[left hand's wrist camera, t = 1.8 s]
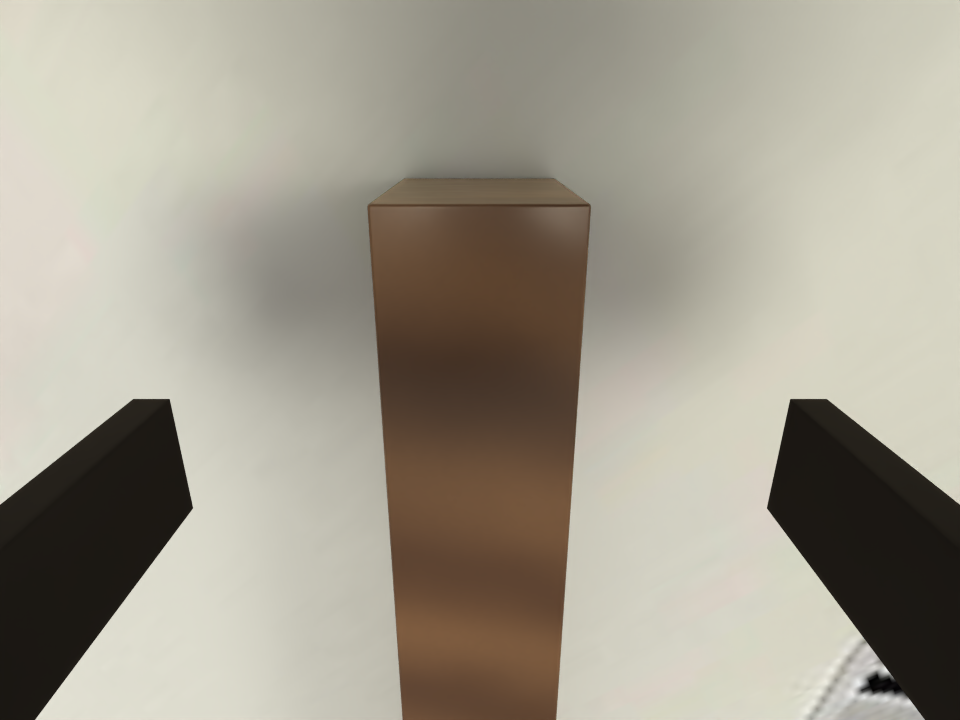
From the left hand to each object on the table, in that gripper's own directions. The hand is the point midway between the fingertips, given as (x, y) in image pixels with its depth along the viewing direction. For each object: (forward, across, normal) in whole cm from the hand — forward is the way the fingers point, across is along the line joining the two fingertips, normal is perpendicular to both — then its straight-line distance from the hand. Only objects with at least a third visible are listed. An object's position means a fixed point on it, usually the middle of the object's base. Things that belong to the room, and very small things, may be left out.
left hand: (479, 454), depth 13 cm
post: (+12, 0, -32) cm, 34 cm away
